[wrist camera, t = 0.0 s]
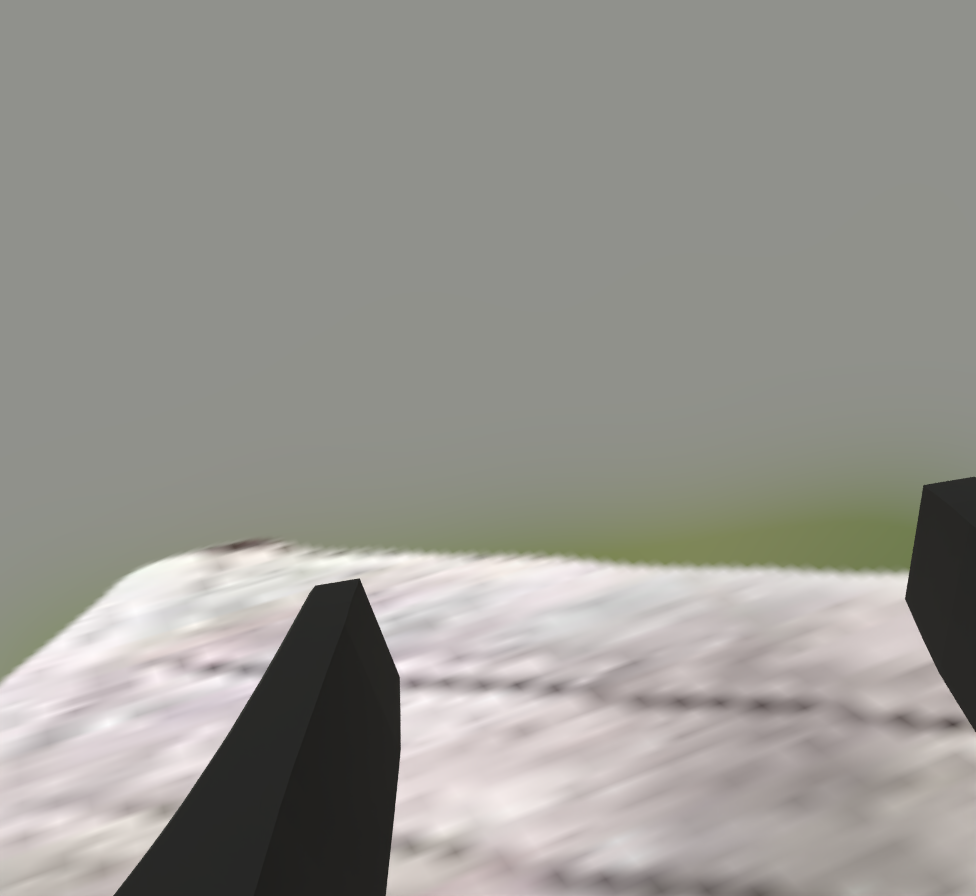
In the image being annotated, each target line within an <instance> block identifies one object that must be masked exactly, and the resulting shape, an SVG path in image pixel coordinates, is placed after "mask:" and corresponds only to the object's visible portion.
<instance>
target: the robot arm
mask: <svg viewBox="0 0 976 896" xmlns="http://www.w3.org/2000/svg"><path fill="white" fill-rule="evenodd" d="M905 600H906V602H907V604H908V607H909V609H910V611H911V613H912V616H913V618H914V620H915V622H916V625H917V627H918V629H919V631H920V634H921V636H922V638H923V640H924V642H925V644H926V647H927V649H928V651H929V653H930V655H931V657H932V659H933V661H934V663H935V665H936V667H937V669H938V672H939V673H940V675H941V677H942V678H943V680H944V682H945V683H946V685H947V687H948V688H949V690H950V692H951V693H952V695H953V696H954V698H955V700H956V701H957V703H958V704H959V706H960V708H961V709H962V711H963V713H964V714H965V716H966V717H967V719H968V721H969V722H970V724H971V725H972V727H973V729H974V730H975V732H976V477H970V478H965V479H958V480H952V481H946V482H940V483H934V484H928V485H924V486H923V492H922V498H921V505H920V510H919V516H918V523H917V529H916V535H915V541H914V547H913V554H912V560H911V566H910V572H909V578H908V584H907V590H906V597H905ZM400 751H401V733H400V677H399V674H398V672H397V669H396V667H395V664H394V662H393V659H392V657H391V654H390V652H389V649H388V647H387V645H386V642H385V640H384V637H383V635H382V632H381V630H380V627H379V625H378V622H377V620H376V617H375V615H374V613H373V610H372V608H371V605H370V603H369V600H368V598H367V595H366V593H365V590H364V588H363V586H362V583H361V581H360V578H359V579H353V580H347V581H341V582H335V583H329V584H323V585H317V586H315V587H314V588H313V589H312V591H311V592H310V593H309V595H308V597H307V599H306V601H305V602H304V604H303V606H302V608H301V610H300V611H299V613H298V615H297V617H296V619H295V620H294V622H293V624H292V626H291V628H290V629H289V631H288V633H287V635H286V637H285V638H284V640H283V642H282V644H281V646H280V647H279V649H278V651H277V653H276V654H275V656H274V658H273V660H272V661H271V663H270V665H269V667H268V668H267V670H266V672H265V674H264V675H263V677H262V679H261V681H260V682H259V684H258V686H257V687H256V689H255V691H254V692H253V694H252V696H251V697H250V699H249V700H248V702H247V704H246V705H245V707H244V709H243V710H242V712H241V714H240V715H239V717H238V719H237V720H236V722H235V724H234V725H233V727H232V729H231V730H230V732H229V733H228V735H227V737H226V738H225V740H224V741H223V743H222V745H221V746H220V748H219V749H218V751H217V752H216V754H215V755H214V757H213V758H212V760H211V761H210V763H209V764H208V766H207V767H206V769H205V770H204V772H203V773H202V775H201V776H200V778H199V779H198V781H197V782H196V784H195V785H194V787H193V788H192V790H191V791H190V793H189V794H188V796H187V797H186V799H185V800H184V802H183V803H182V805H181V806H180V807H179V809H178V810H177V812H176V813H175V814H174V816H173V817H172V819H171V820H170V821H169V823H168V824H167V826H166V827H165V828H164V830H163V831H162V833H161V834H160V835H159V837H158V838H157V839H156V841H155V842H154V843H153V845H152V846H151V847H150V849H149V850H148V852H147V853H146V854H145V855H144V857H143V858H142V859H141V861H140V862H139V863H138V865H137V866H136V867H135V868H134V870H133V871H132V872H131V874H130V875H129V876H128V878H127V879H126V880H125V881H124V883H123V884H122V885H121V887H120V888H119V889H118V890H117V892H116V893H115V894H114V895H113V896H386V887H387V878H388V868H389V859H390V850H391V840H392V831H393V822H394V812H395V802H396V792H397V782H398V772H399V762H400Z"/></svg>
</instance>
